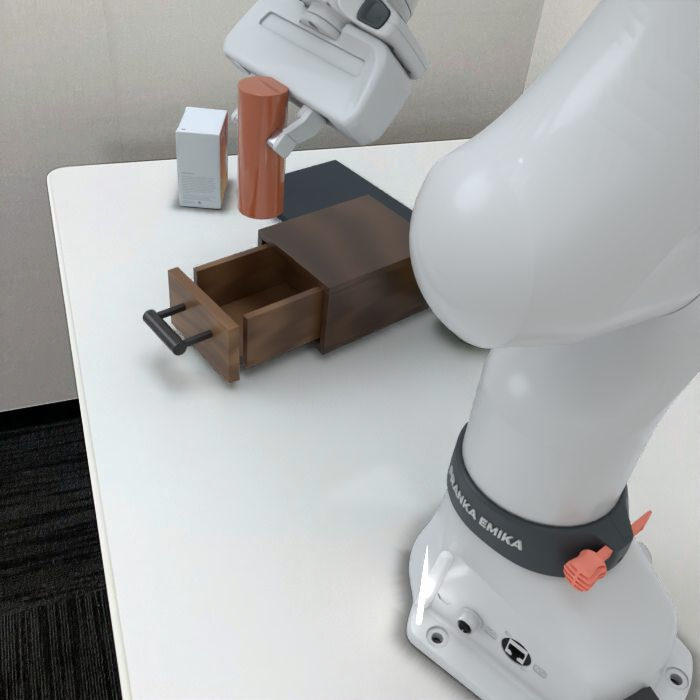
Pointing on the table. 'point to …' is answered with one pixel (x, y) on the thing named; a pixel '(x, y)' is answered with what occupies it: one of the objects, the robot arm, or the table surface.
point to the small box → (202, 157)
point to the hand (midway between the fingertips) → (256, 139)
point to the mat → (330, 190)
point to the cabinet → (352, 266)
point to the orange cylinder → (260, 146)
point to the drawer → (240, 310)
